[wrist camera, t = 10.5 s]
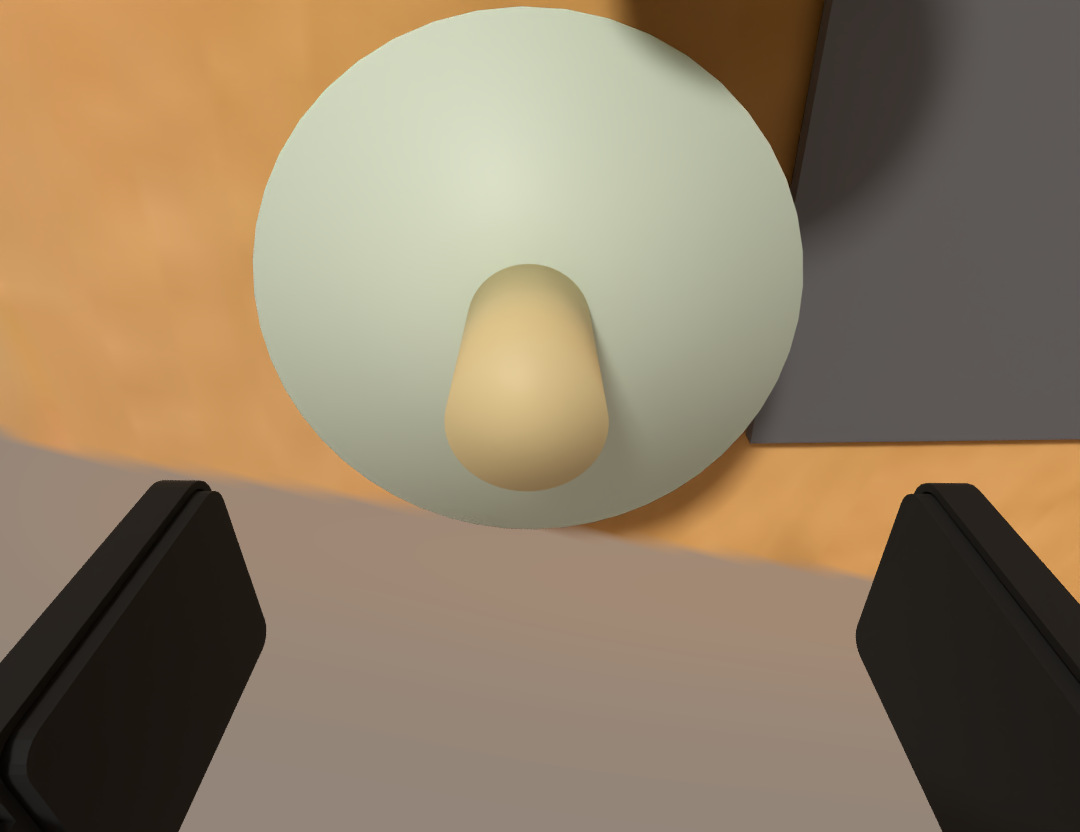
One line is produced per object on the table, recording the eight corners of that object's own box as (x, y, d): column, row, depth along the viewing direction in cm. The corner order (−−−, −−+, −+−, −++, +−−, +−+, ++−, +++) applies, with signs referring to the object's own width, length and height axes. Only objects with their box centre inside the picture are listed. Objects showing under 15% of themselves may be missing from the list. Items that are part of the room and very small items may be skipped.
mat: (1367, -25, 18) (1392, -26, 18) (1123, 430, 26) (1135, 438, 25) (827, -17, 18) (836, -18, 18) (746, 435, 26) (750, 443, 25)
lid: (843, 1, 14) (1017, -9, 9) (747, 505, 21) (813, 658, 16) (200, 12, 14) (11, 10, 9) (322, 512, 22) (255, 666, 16)
